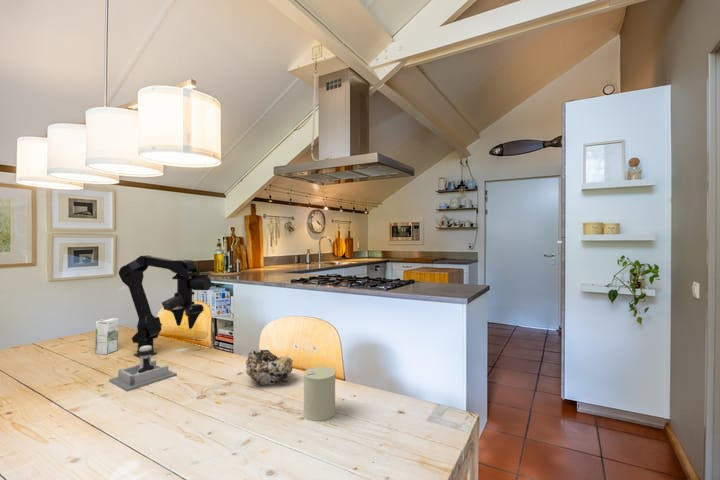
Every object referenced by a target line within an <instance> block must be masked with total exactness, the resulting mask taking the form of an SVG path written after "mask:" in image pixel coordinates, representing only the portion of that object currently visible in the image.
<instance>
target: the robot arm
mask: <svg viewBox="0 0 720 480" xmlns="http://www.w3.org/2000/svg"><path fill="white" fill-rule="evenodd" d="M149 267H153V268H154V267H155V268H159V269H166V270H169V271H171V272H172V273H175V275H174V276H172V278H171V279H172V280H176V292H174V295H173V296H172V297H170V298H168V299H166V300H164V301H161V306H162V308H163V310H164V311H168V312H171V313H172V315H173V317H174V320H175V322H176V323H175V324H176V326H178V327H179V326H181V324H182V321H183V317H184V314H185V316H186V317H187V324H188V328H189V330H192V329H193V327H194V325H195V323H196V321H198V320H197V319H198V318H199V316H200V315H201V314H202V312H204V311H205V310H204V309H205V307H204V305H203V304H200V303H195V301H193V295H195V291H209V290H210V289H211V287H212V281H211V278H210V276H209V274H208V273H204V274H201V273H200V271H199V270H198V268H197V267H196V264H195V262H194V261H193V260H192V259H176V260H175V259H170V258H163V257H157V256H152V255H140V256H139V257H137V258H136V259H134V260H132V261H130V262H129V263H127V264H125V265H123V266H121V267H120V268H119V270H118V276H119V278H120V279H121V282H122V283H123V284H125V286H127V287H128V290H129V293H130V296H131V299H132V302H133V305H134V308H135V311H136V314H137V317H138V321H137V325H136V329H137V332H136V333H135V334H134V335H133V336H132V337H131V340H132V343H133V344H137V350H138V349H140V347H142V346H146V345H150V346H151V347H153V348H154V339H157V338H159V335H160V333H161V331H162V326H163V324H162V323H161V319H160V317H159V316H154V315H153V312H152V310H151V307H150V304H149V300H148V298H147V295H146V292H145V289H144V288H145V287H144V286H143V285H144V284H143V280H144V277H145V276H144V272H145V271H147V269H148V268H149ZM157 354H158V352H156V351H154V352H153V354H151V356H153V355H157ZM133 356H135V357H136V358H137V357H138V358H140V356H138V355H137V352H136V353H134V354H133Z"/></svg>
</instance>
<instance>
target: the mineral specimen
mask: <svg viewBox="0 0 720 480" xmlns="http://www.w3.org/2000/svg"><path fill="white" fill-rule="evenodd" d="M293 361H294V360H293V359H292V358H291V357H289V356H280V357H278V356H277V355H276V354H273V353H272V352H271V351H270V350H269V349H261V348H259V349H252V350H250V352H248V356H247V359H246V360H245V366H246V370H245V374H246V375H247V376H248V377H250V378H251V380H254V381H257V382H259V383H260V384H261V385H263V386H264V385H274V384H279V383H282V382H283V381H285V379H288V378H290V377H291V376H292V371H293V363H294V362H293Z"/></svg>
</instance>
